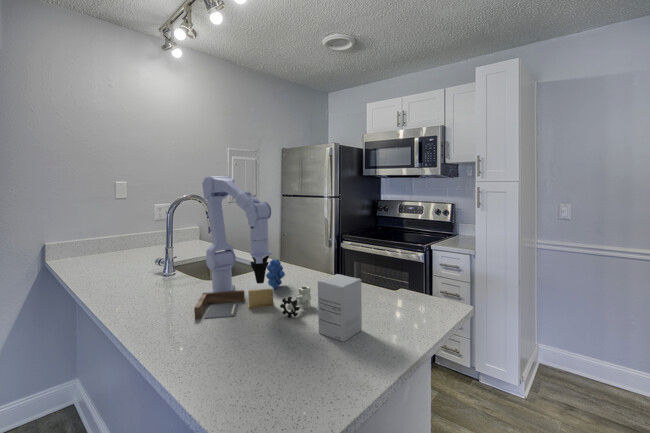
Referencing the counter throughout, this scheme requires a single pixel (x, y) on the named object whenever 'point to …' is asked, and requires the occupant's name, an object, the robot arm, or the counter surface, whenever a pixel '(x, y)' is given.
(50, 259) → the counter surface
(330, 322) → the supplement box
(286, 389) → the counter surface
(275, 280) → the grapes
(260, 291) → the bronze bracket
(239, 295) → the corner walls
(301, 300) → the valve
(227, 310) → the mat
